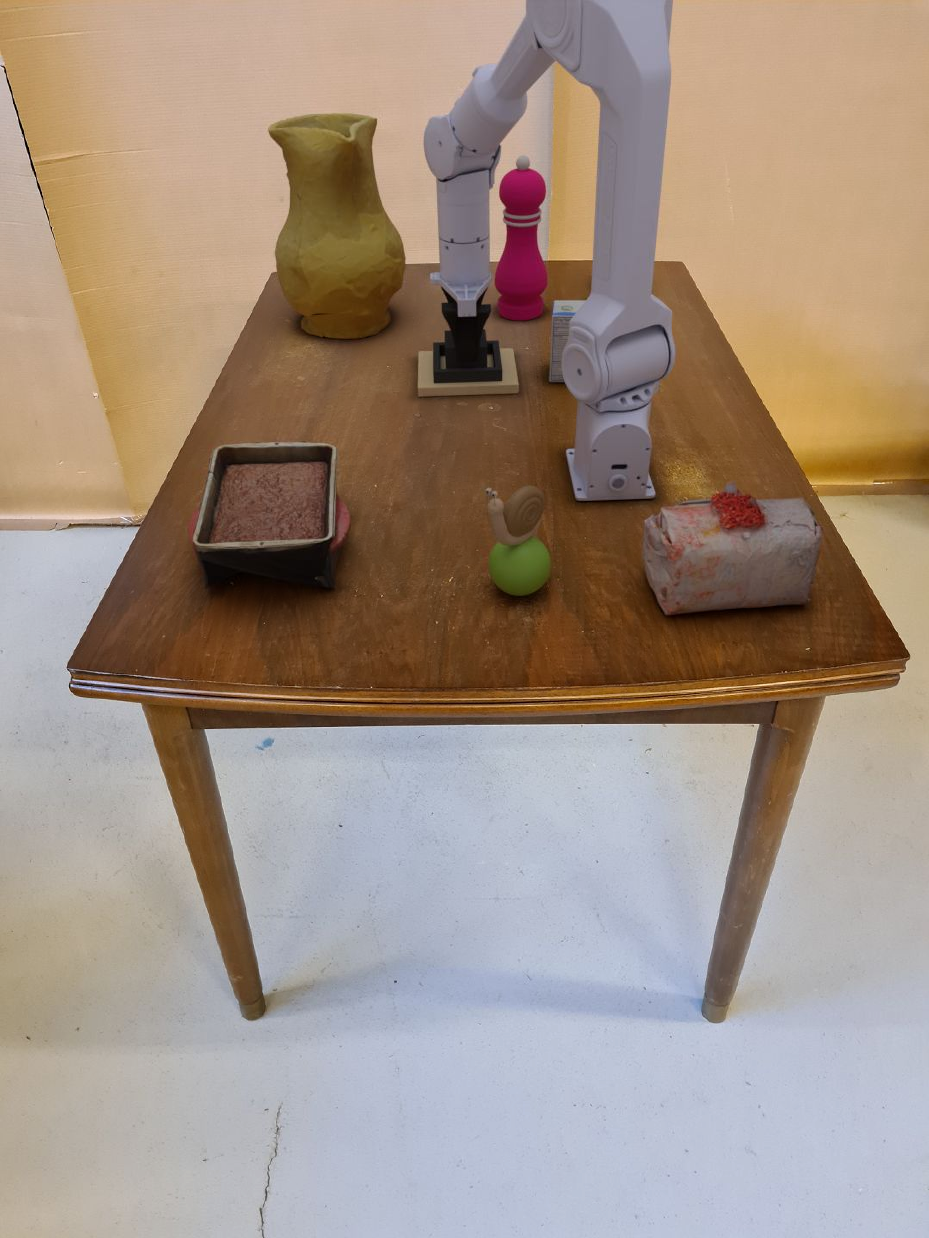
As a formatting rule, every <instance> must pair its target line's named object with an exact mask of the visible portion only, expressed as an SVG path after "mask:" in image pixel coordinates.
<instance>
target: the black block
mask: <svg viewBox="0 0 929 1238" xmlns="http://www.w3.org/2000/svg"><path fill="white" fill-rule="evenodd" d="M487 341H488V340H487V331H486V329H485V328H483V331H482V335H481V340H480V346H479V352H478V356H477V360H476V362H465V363H459V361H458V358H457V355H456V351H455V346H454V341H453V336H452V333H451V330H450V329H449V330H447V329H446V330H444V342H445V364H446V369H452V368H482V367H487Z"/></svg>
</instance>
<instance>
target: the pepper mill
mask: <svg viewBox="0 0 929 1238" xmlns="http://www.w3.org/2000/svg"><path fill="white" fill-rule="evenodd" d="M515 166H516V168H514V169H511V170H509V171H508V172H506V174H504V175H503V177H502V179H501V180H500V183H499V189H498V196H499V200H500V202H501V203H502V205H503V206H504V209H503V210H502V215H503V217H502V222H503V223H504V224H505V227H506V228H505V229H506V239H505V243H504V244H505V246H504V247H503V251H502V253H501V256H500V258H499V260H498V264H497V266H496V269H495V273H494V287H495V290H496V291H497V292H498V293H499V294H500V296H499V297H498V298H497V312H498V314H499V315H500V317H502V318H504V319H506V320H507V319H508V320H511V321H530V320H534V319H536V318H537V319H538V318H539V317H540V316H542V314H543V313H544V298H543V297H542V294H543V293H544V292H545V291H546V289H547V287H548V280H549V279H548V271H547V268H546V264H545V262H544V259H543V256H542V255H541V251H540V247H539V242H538V227H539V224H540V223H541V222H542V209H541V208H540V206H541V205H542V204H543V202H544V201H545V199H546V195H547V186H546V181H545V178H544V177H543V175H541V174H540V172H538V171H537V170H535V169H533V168H530V166H531V160H530V158H529V156H527V155H524V154H523V155H519V156H518V157H517V159H516V160H515Z"/></svg>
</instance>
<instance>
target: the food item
mask: <svg viewBox="0 0 929 1238" xmlns="http://www.w3.org/2000/svg"><path fill="white" fill-rule="evenodd" d="M643 521H644V528H643V529H644V532H643V541H642V551H641V558H642V560H643V567H644V571H645V575H646V578H647V582H648V584H649V587H650V588H651V589H652V591H653V593H654V595H655V597H656V600H657V603H658V604H659V606H660V608H661V609H662V611H663V613H664V614H665V616H675V615H680V614H681V615H682V614H692V613H699V612H708V611H724V610H733V609H734V610H735V609H753V608H766V607H775V606H776V607H777V606H793V605H794V606H795V605H809V603H810V602H811V600H812V599H811V598H809V597H810V592H811V589H812V588H813V585H814V583H815V578H816V574H817V568H816V567H817V565H818V562H819V558H820V555H821V550H820V547H821V540H822V536H823V531H824V528H823V527H822V526H821V525H820V524H818V520H817V519H816V515H815V512H814V510H813V509H812V508H811V506H810V505H809V503H808V502H807V501H806V500H805V499H804V498H803V497H801V496H800V497H795V498H794V497H793V498H792V497H789V498H766V499H765V498H764V499H756V496H755V497H754V496H751V493H749V494H748V493H746V494H743V493H742V492H741V490H740V489H738V488H737V484H736V483H735V482H734V481H733V480H731V481H730V482H729V483H727V484H726V485H725V488H724V489H722V490H720V492H718V493H713V494H712V496H711V498H702V499H701V498H699V499H698V498H697V499H691V500H684V501H681V502H680V503H677V504H675V505H671V506H662V507H661V508H660V512H659V514H657V515H654V514H652V515H650V516H649V517H648V518H646V519H644V520H643Z"/></svg>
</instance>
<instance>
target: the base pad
mask: <svg viewBox="0 0 929 1238" xmlns="http://www.w3.org/2000/svg"><path fill="white" fill-rule="evenodd" d="M417 364H418V365H417V396H418V397H422V398H423V397H446V396H448V397H449V396H450V397H451V396H478V395H505V394H506V395H507V394H508V395H509V394H511V395H512V394H519V392H520V384H519V377H518V370H517V365H516V358H515V351H514V348H513V347H506V348H504V347H503V348H502V347H501V348H500V341H499V340H498V339H496V340H487V367H482V368H452V369H446V364H445V341H437V342H432V350H418V360H417Z"/></svg>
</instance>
